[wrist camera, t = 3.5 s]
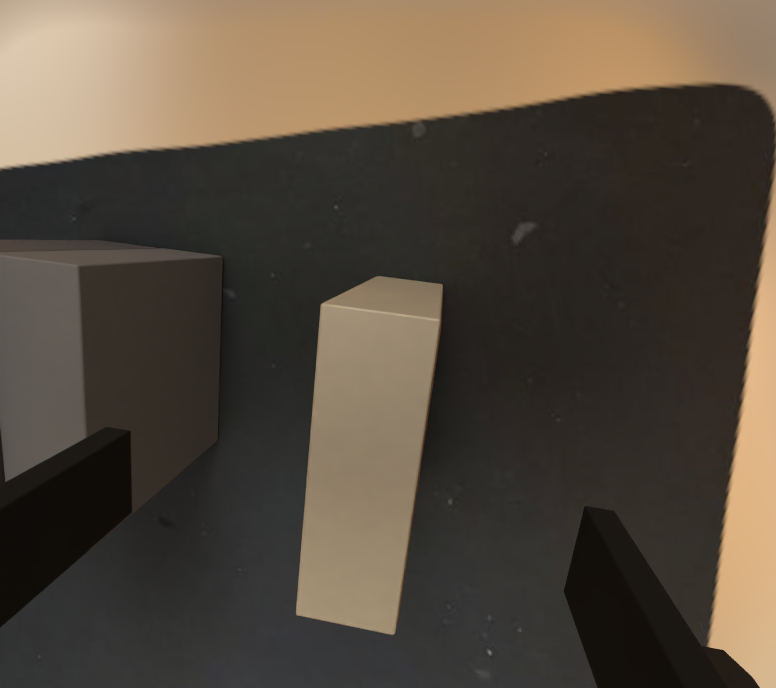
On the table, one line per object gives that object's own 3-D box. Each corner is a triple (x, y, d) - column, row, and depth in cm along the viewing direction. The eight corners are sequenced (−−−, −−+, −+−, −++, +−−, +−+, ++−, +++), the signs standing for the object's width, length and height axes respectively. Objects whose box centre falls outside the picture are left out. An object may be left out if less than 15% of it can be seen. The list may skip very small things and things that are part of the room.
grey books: (223, 256, 24) (21, 268, 13) (218, 440, 27) (46, 589, 15) (100, 240, 25) (-198, 238, 13) (106, 421, 28) (-140, 550, 16)
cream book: (443, 284, 23) (442, 319, 13) (416, 474, 26) (396, 636, 15) (376, 275, 24) (320, 303, 13) (356, 464, 26) (294, 616, 16)
